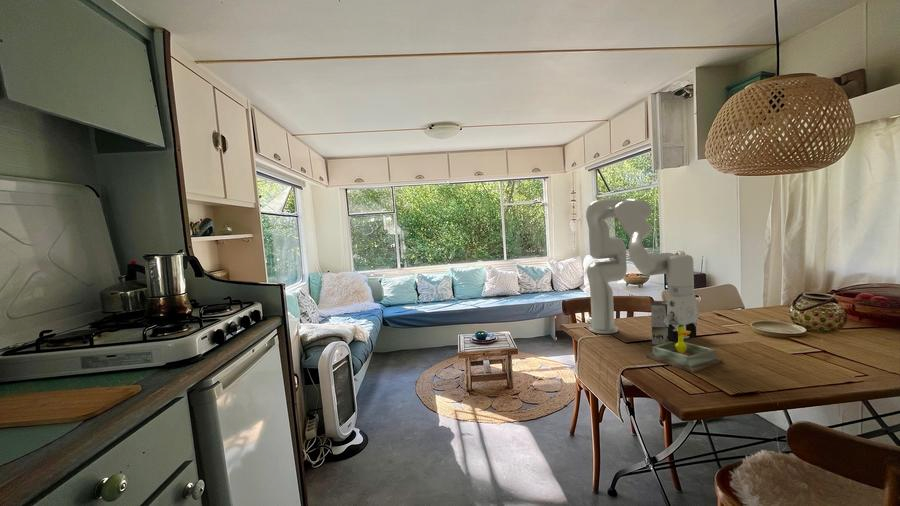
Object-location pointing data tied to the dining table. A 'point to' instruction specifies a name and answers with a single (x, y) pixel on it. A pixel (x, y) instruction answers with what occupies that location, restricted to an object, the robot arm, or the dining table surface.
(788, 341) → the dining table surface
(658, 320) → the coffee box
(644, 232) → the robot arm
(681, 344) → the toy figure
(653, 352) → the tray
